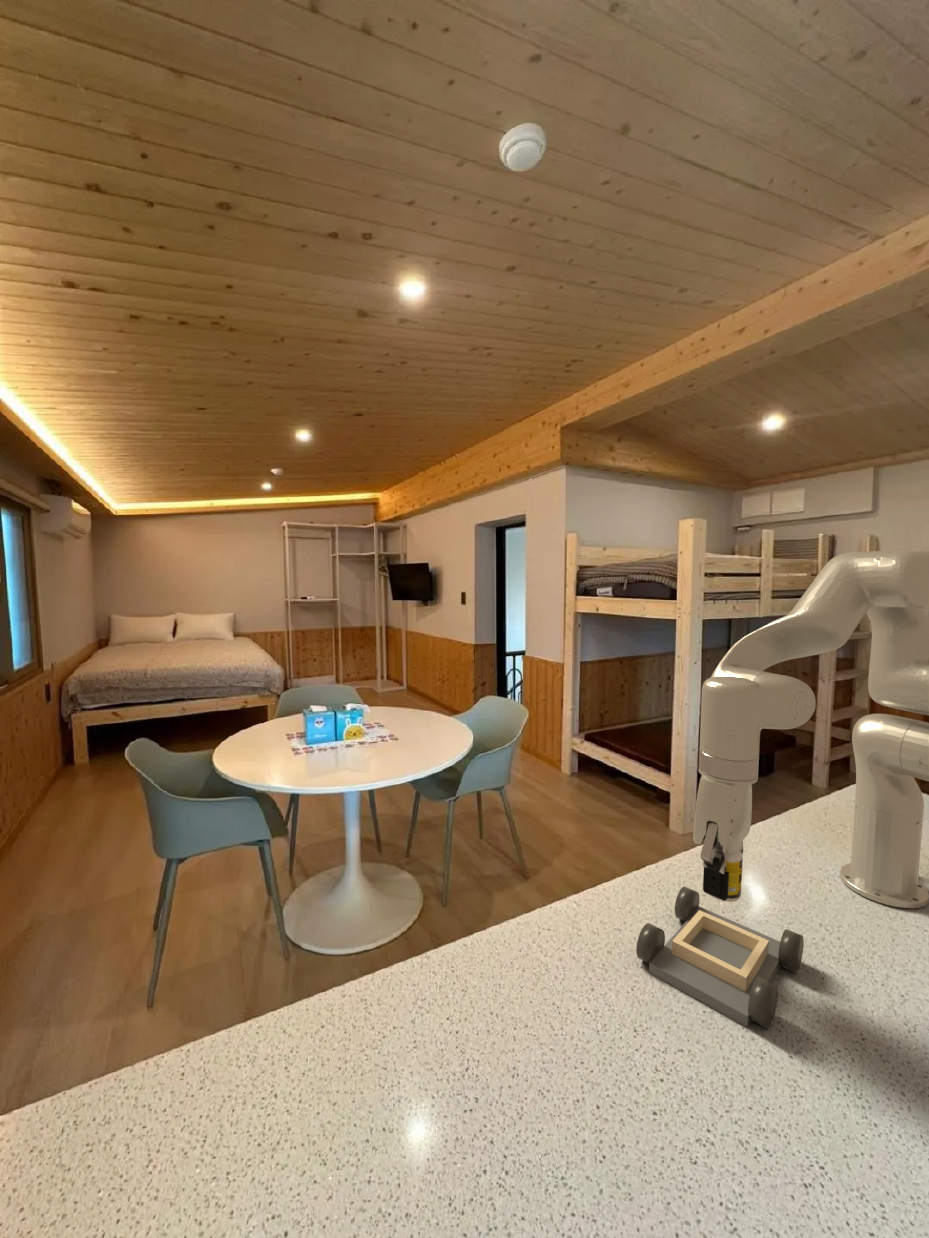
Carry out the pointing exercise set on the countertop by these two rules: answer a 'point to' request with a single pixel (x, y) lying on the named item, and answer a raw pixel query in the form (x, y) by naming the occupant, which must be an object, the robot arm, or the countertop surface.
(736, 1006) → the toy chassis
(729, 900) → the supplement bottle
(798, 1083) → the countertop surface
